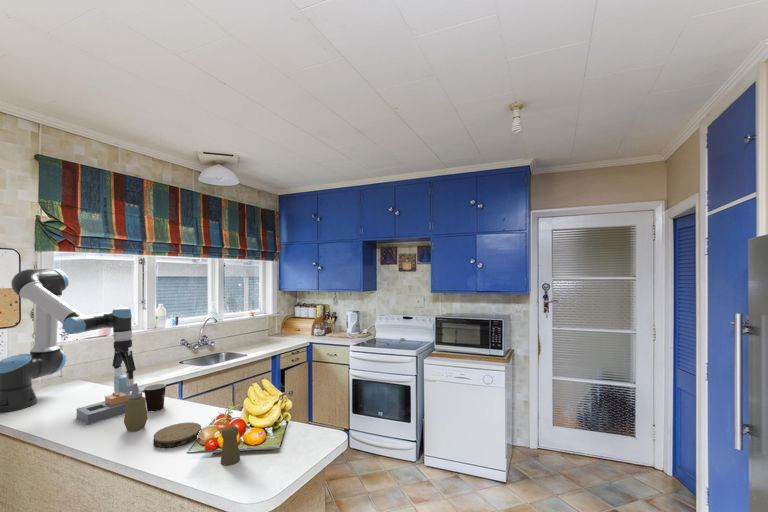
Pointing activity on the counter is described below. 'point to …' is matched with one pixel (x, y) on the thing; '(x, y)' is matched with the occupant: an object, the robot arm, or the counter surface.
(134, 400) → the squeeze bottle
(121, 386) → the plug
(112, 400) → the orange ridged block
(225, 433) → the pepper mill
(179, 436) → the brown round disc
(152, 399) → the coffee mug
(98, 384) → the counter surface
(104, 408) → the socket plate
